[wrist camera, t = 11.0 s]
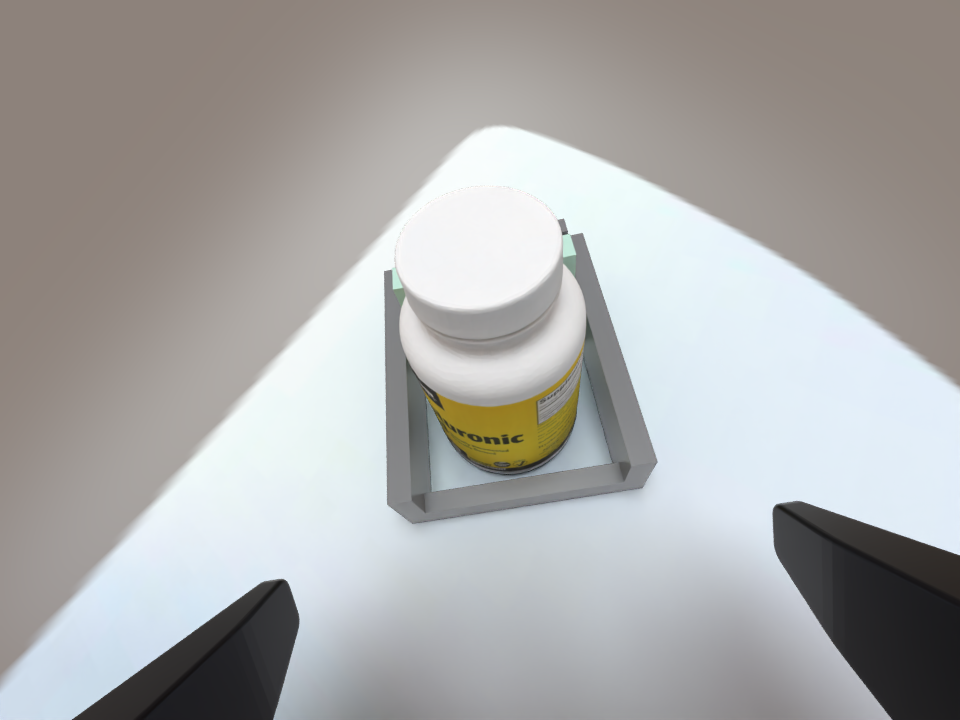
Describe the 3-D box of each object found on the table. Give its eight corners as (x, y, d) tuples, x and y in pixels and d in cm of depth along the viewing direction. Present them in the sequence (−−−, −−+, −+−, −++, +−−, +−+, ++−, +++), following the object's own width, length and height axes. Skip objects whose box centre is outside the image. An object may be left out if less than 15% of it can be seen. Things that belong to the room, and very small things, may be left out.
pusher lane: (642, 487, 17) (663, 450, 13) (412, 523, 17) (376, 497, 14) (579, 279, 22) (583, 214, 19) (404, 312, 23) (376, 255, 19)
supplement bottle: (417, 429, 19) (316, 267, 11) (496, 338, 21) (460, 140, 13) (524, 507, 17) (499, 380, 9) (601, 398, 19) (641, 207, 11)
